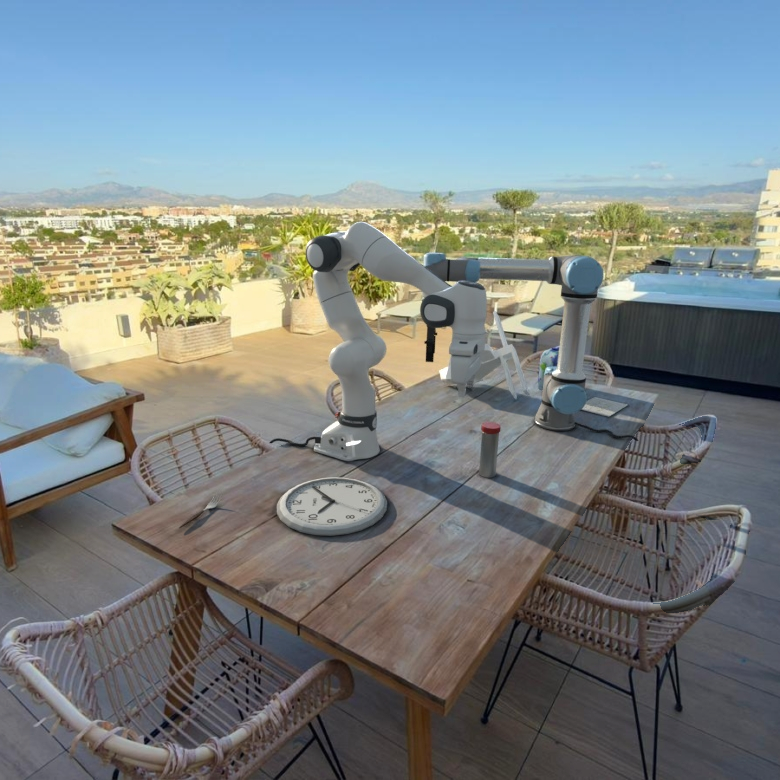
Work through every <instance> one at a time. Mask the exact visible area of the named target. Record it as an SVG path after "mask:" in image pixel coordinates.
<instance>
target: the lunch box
mask: <svg viewBox="0 0 780 780" xmlns="http://www.w3.org/2000/svg"><path fill="white" fill-rule="evenodd" d="M559 346H560V345H558V346H555V347H551V348H549V349H546V350H544V351H543V352H542V353H541V355H540V358H539V365H538V377H537V389H538V390H539V391H543V382H544V373H545V369H546V368H547V367H553V366H557V364H558V355H559Z"/></svg>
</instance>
